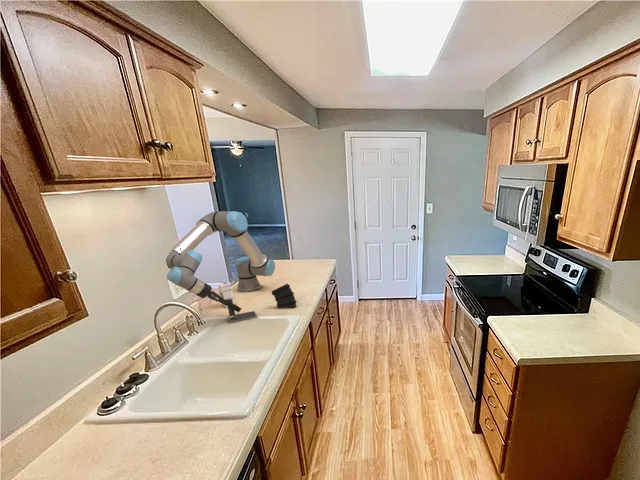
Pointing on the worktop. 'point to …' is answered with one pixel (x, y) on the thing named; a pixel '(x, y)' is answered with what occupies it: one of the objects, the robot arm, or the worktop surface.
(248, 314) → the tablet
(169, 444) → the worktop surface
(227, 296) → the syrup box
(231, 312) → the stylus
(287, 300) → the black ridged block
